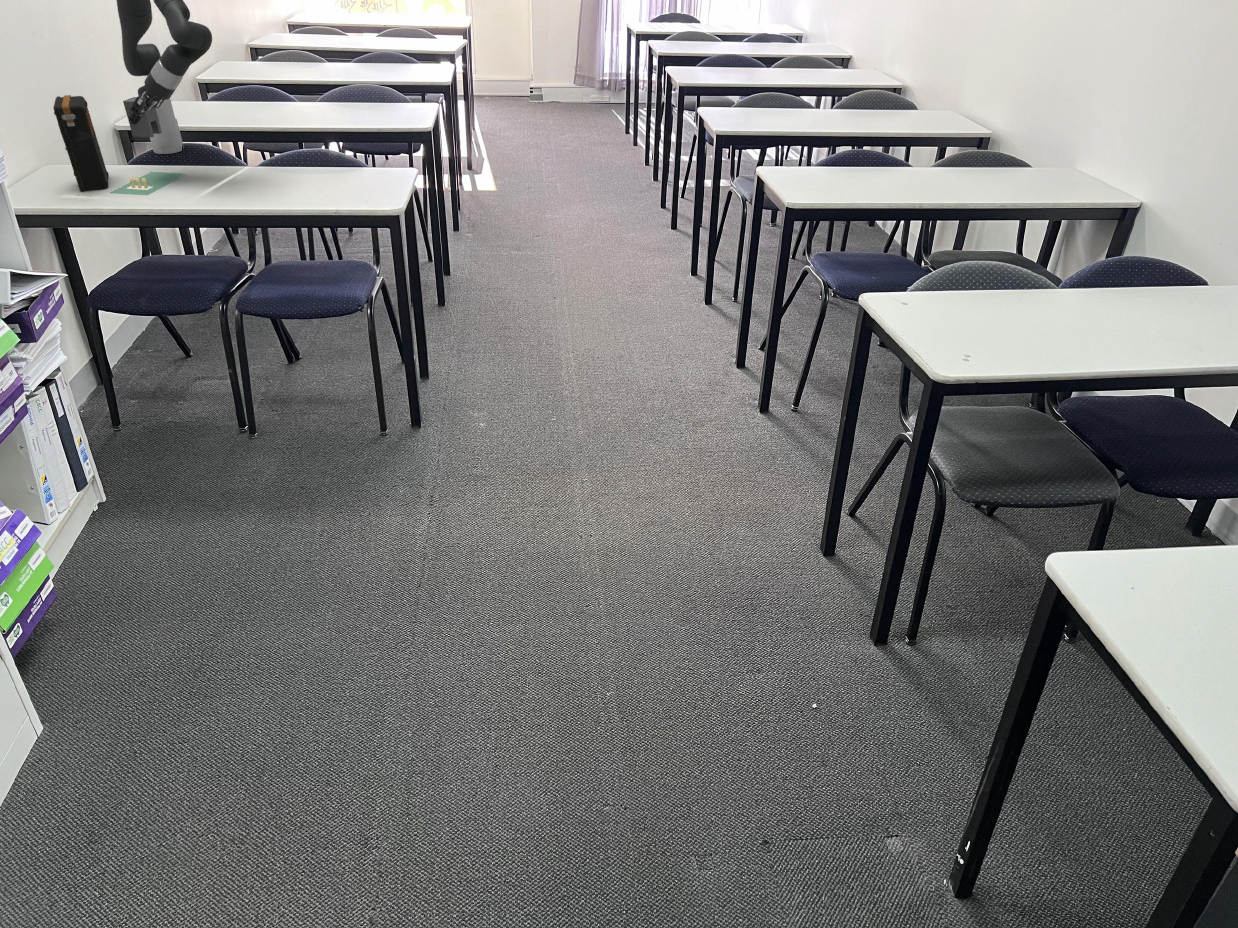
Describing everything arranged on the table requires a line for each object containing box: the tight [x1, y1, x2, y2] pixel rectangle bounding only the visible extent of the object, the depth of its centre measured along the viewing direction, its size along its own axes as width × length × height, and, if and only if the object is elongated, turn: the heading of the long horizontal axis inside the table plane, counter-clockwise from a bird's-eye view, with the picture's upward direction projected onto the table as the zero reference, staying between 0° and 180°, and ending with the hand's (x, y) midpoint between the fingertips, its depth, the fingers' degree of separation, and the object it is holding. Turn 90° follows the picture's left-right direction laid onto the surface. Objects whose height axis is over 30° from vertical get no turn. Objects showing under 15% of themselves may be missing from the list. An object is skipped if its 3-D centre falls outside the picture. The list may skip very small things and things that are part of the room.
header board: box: [109, 171, 187, 196], centre depth 271 cm, size 22×12×4 cm, turn 173°
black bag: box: [52, 94, 110, 193], centre depth 264 cm, size 16×9×25 cm, turn 25°
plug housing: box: [122, 96, 162, 138], centre depth 266 cm, size 6×6×10 cm
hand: (137, 119), depth 266 cm, fingers closed on plug housing, 5 cm apart
